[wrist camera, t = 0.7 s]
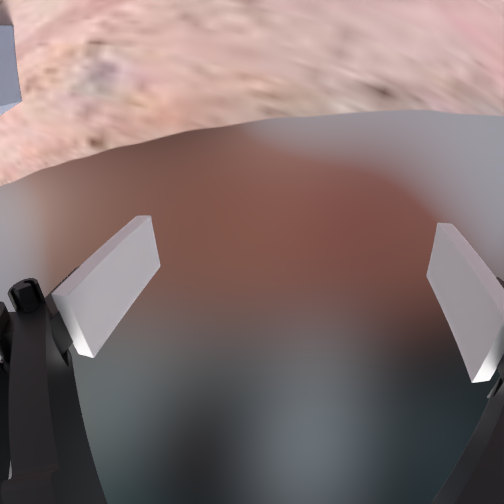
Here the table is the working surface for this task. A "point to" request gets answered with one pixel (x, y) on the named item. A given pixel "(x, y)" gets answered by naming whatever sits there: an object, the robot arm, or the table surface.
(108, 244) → the robot arm
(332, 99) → the table surface
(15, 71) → the box
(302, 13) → the table surface
